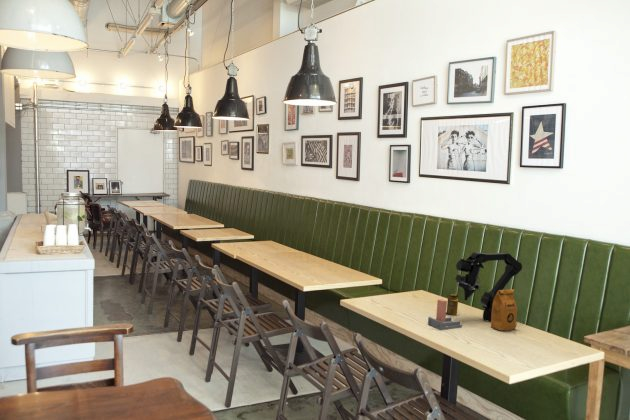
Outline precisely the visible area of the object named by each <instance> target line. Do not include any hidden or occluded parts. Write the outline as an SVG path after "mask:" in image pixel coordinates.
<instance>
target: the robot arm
mask: <svg viewBox="0 0 630 420" xmlns="http://www.w3.org/2000/svg"><path fill="white" fill-rule="evenodd" d="M491 261H503V262H504V264H505V268H504V272H503V274H502V275H500V277H499V279H498V280H497V282H496V283H495V284H494V286H493V287H492V288H491V290H490V291H484V293H483V294H482V295H481V298H480V304H481V305H482V308H483V309H484V310H483V312H482V320H483V321H485V322H491V314H492V305H493V300H494V298H495V296H496V294H497V292H498V290H505V287H507V285H508V284H509V282H510V280H511V279H512V277H515V276H516V275H518V274H519V273H520V272H521V271H522V269H523V264H522V263H521V262H519V261H518V260H517V259H516V258H514V256H512V254H510V253H509V252H492V253H490V252H489V253H487V252H485V253H484V252H480V251H473V252H472V253H471V255H469V256H468V257H467V258H466V259H464V258H460V259H459V260H458V261H457V262H456V265H455V268H456V271H460V272H462V273H463V272H464V273H466V274H465V276H462V275H461V274H456V276H455V282H456V283H458V285H457V286H458V287H460V288H462V289H463V290H464V291H463V292H464V300H465V301H466V302H467V301H468V300H469V299H470V297H471V296H472V295H473V294H474V293H476V290H478V291H480V290H481V288H482V286H481V284H478V283H477V280H479V278H480V276H479V274H480V270H481V269H484V268H485V267H484V265H483V263H487V262H491Z"/></svg>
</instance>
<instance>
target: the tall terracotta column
mask: <svg viewBox="0 0 630 420" xmlns="http://www.w3.org/2000/svg"><path fill="white" fill-rule="evenodd" d="M447 301H448V300H445V299H442V298H439V299H437V302H436V303H437V304H436V305H437V306H436V317H435V319H436V320H438V321H441V322H443V323H446V322H445V319H446V318H447V315H446V312H447Z"/></svg>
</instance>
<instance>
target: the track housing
mask: <svg viewBox="0 0 630 420" xmlns="http://www.w3.org/2000/svg"><path fill="white" fill-rule="evenodd" d="M427 318H428V319H427V325H428V326H430V327H433V328H435V329H437V330H439V331H444V330H451V329H460V328H462V327H463V325H462V324H461V321H460V320H455V321H454V320H452V317H451V316H448V317H446V319H445V322H446V323H443V322H441V321H438V320H436V318H433V317H431V316H428V317H427Z"/></svg>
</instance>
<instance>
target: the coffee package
mask: <svg viewBox="0 0 630 420" xmlns="http://www.w3.org/2000/svg"><path fill="white" fill-rule="evenodd" d="M514 293H515V289H503V290H498V292H497V294H496V296H495V298H494V300H493V305H492V314H491V321H490V327H491V328H492V329H494V330H495V329H496V330H498V331H511V330H512V331H513V330H515V329H516V328H517V316H518V307H517V302H516V301H515V298H514Z"/></svg>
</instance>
